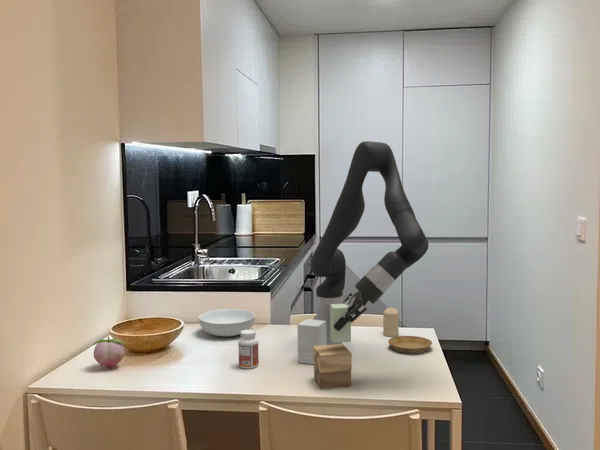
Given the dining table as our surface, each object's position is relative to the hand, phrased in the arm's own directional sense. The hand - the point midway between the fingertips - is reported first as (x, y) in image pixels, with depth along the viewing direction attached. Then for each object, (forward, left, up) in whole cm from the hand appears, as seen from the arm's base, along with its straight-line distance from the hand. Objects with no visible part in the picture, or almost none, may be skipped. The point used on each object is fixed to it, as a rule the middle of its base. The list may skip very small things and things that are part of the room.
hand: (334, 326), depth 174 cm
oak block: (-1, 0, -12) cm, 12 cm away
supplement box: (-16, +12, -17) cm, 26 cm away
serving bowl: (-60, +18, -17) cm, 65 cm away
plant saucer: (+3, +42, -17) cm, 45 cm away
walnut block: (0, 0, -17) cm, 17 cm away
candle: (-10, +52, -17) cm, 55 cm away
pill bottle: (-29, -4, -17) cm, 34 cm away
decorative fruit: (-63, -31, -17) cm, 73 cm away
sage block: (+1, +1, -4) cm, 5 cm away
